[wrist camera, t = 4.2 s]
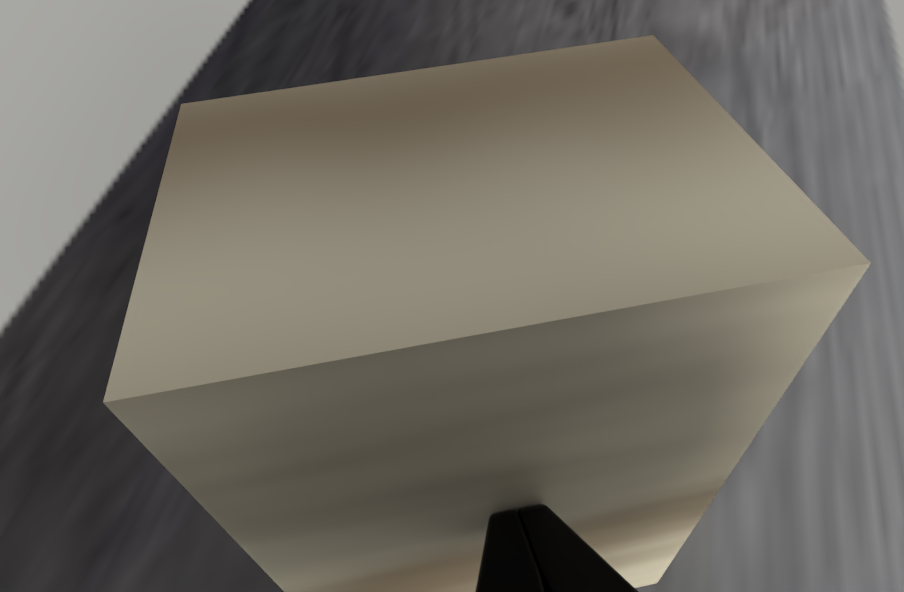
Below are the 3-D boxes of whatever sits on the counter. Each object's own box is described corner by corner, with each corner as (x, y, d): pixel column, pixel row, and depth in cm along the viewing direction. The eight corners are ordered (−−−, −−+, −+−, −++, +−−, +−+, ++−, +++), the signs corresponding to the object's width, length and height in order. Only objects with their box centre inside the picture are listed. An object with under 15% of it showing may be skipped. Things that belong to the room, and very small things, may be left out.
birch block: (657, 583, 13) (871, 263, 5) (341, 652, 12) (104, 402, 5) (582, 393, 16) (653, 34, 9) (332, 442, 16) (181, 104, 8)
